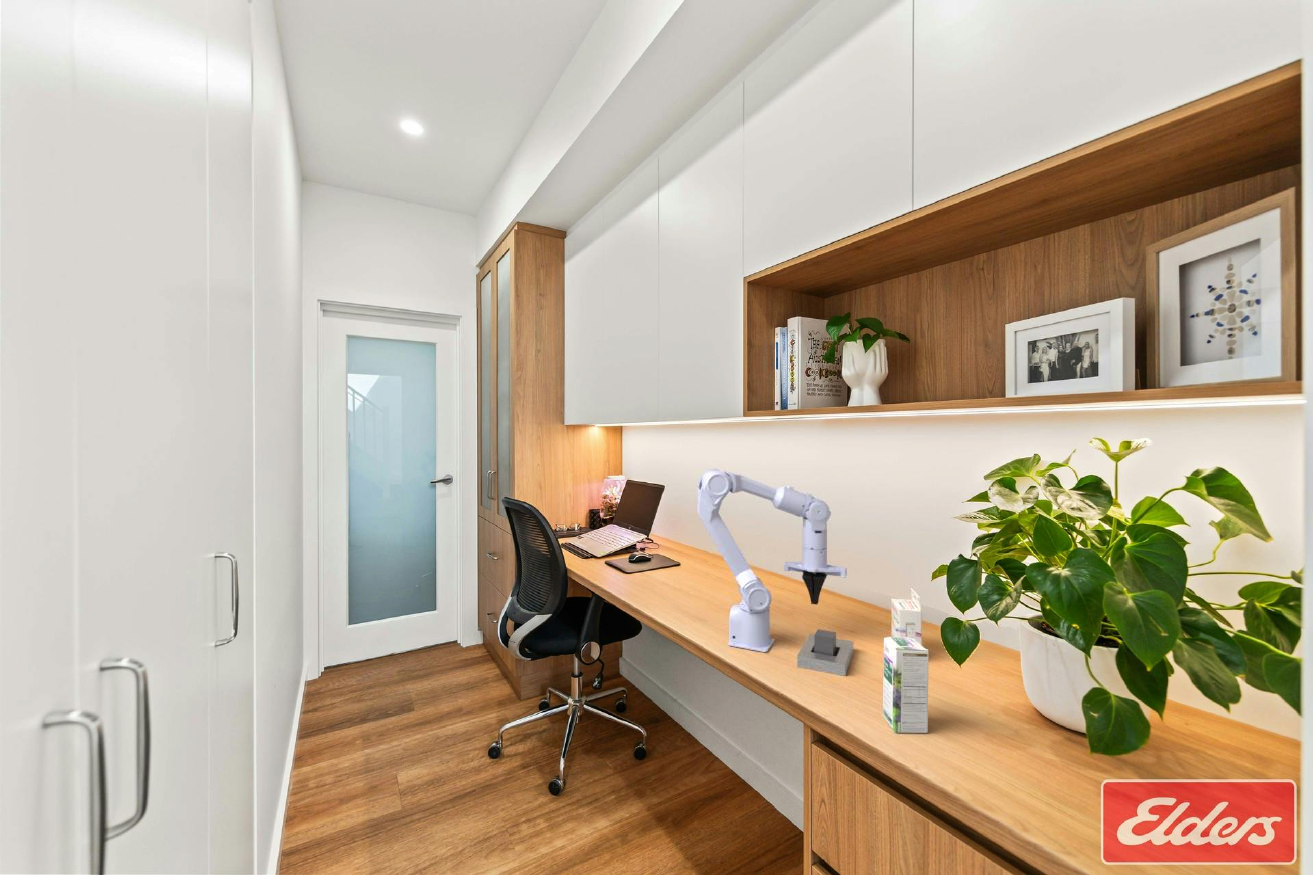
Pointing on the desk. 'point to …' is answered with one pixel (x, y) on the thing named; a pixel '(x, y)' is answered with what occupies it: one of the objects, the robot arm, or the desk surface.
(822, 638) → the plug
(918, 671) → the syrup box
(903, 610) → the ink cartridge box
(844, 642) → the socket plate
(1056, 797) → the desk surface
